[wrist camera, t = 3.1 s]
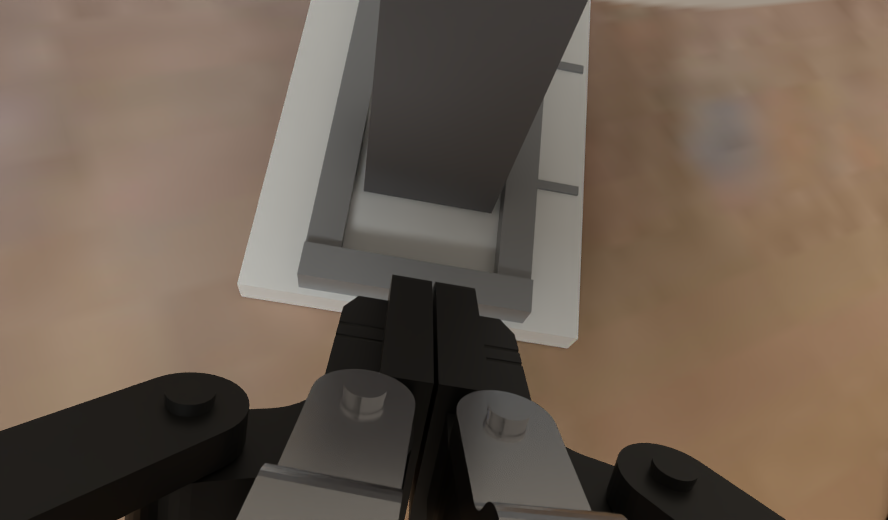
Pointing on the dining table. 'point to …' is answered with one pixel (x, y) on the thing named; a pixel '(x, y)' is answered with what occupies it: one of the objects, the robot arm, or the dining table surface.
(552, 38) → the fader tab
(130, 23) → the dining table surface
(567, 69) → the fader console
